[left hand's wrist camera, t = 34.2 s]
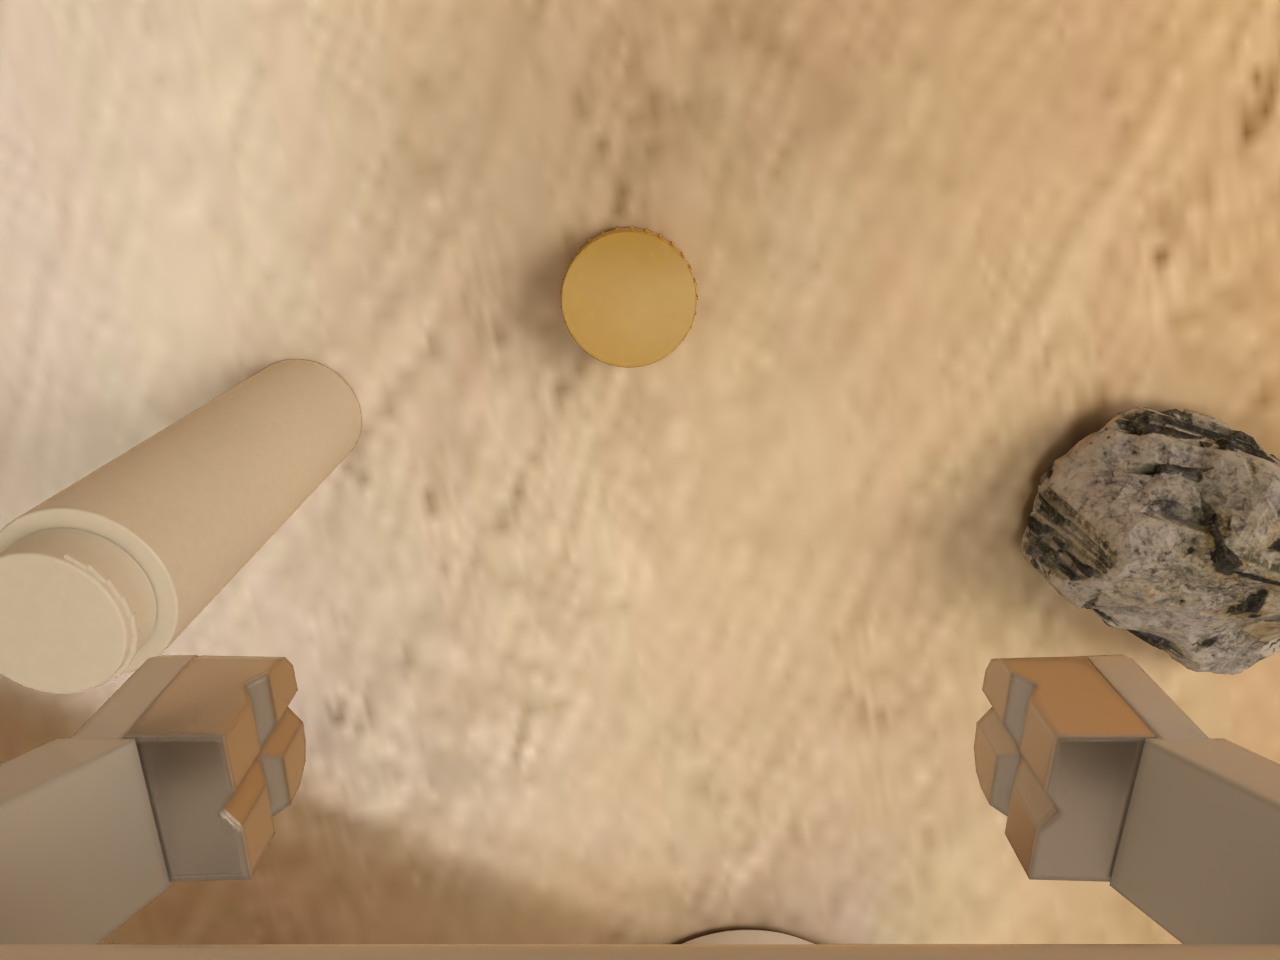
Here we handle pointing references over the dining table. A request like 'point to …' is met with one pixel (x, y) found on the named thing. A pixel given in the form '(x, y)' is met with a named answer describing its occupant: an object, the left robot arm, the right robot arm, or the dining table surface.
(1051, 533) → the rock
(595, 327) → the lid
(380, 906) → the dining table surface
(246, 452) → the jar
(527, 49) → the dining table surface
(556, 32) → the dining table surface
